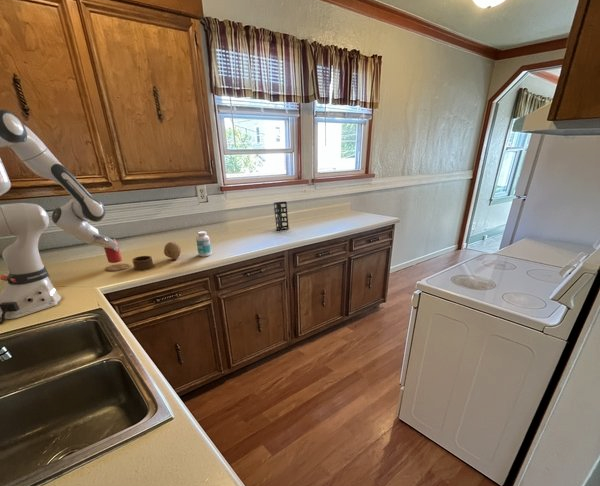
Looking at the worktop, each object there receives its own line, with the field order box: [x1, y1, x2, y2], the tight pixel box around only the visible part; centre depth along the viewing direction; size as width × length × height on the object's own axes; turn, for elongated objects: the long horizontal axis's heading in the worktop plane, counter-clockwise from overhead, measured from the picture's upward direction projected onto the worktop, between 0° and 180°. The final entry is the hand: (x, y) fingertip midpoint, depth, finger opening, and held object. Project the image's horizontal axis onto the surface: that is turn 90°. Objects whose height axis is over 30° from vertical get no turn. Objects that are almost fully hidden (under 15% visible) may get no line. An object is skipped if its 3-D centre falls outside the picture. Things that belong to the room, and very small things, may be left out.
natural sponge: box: [163, 241, 182, 260], centre depth 184 cm, size 9×9×10 cm
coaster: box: [105, 263, 130, 272], centre depth 175 cm, size 11×11×1 cm
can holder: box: [131, 255, 155, 271], centre depth 174 cm, size 9×9×5 cm
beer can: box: [103, 237, 123, 264], centre depth 170 cm, size 7×7×12 cm
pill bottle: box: [195, 230, 212, 257], centre depth 191 cm, size 8×7×14 cm
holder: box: [273, 201, 289, 231], centre depth 249 cm, size 11×8×20 cm
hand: (112, 249), depth 170 cm, fingers closed on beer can, 6 cm apart
